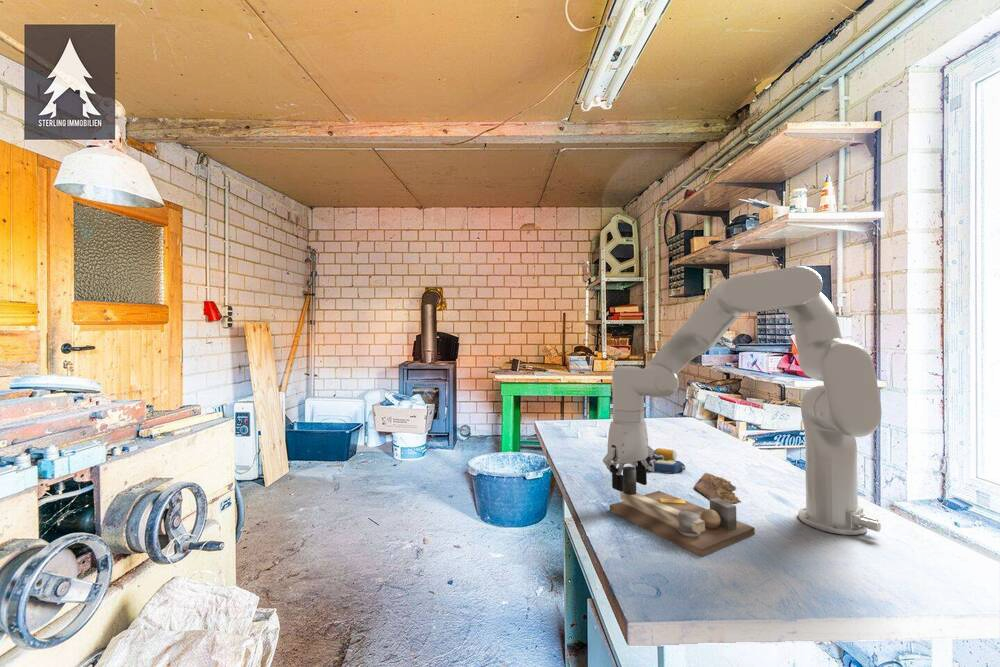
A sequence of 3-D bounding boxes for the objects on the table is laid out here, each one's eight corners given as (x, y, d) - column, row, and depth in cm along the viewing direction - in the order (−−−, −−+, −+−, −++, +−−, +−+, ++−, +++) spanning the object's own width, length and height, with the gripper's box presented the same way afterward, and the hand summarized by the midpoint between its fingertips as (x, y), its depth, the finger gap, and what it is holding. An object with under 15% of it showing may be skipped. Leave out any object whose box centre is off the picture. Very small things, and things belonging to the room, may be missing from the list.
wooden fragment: (743, 509, 110) (743, 505, 110) (695, 504, 114) (695, 499, 114) (730, 476, 134) (730, 473, 134) (691, 473, 138) (691, 469, 138)
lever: (707, 531, 93) (706, 492, 93) (695, 536, 91) (694, 495, 91) (629, 498, 112) (629, 465, 112) (618, 501, 110) (617, 467, 110)
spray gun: (668, 455, 157) (627, 456, 157) (668, 443, 157) (626, 445, 157) (695, 475, 136) (647, 477, 136) (694, 462, 136) (646, 464, 136)
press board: (754, 534, 96) (754, 504, 96) (702, 556, 87) (701, 524, 87) (659, 496, 119) (658, 472, 119) (609, 510, 110) (609, 485, 110)
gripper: (641, 409, 116) (642, 476, 117) (591, 417, 108) (592, 488, 108) (664, 414, 110) (665, 484, 110) (613, 422, 101) (614, 498, 102)
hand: (629, 486), depth 109 cm, fingers open, 7 cm apart
